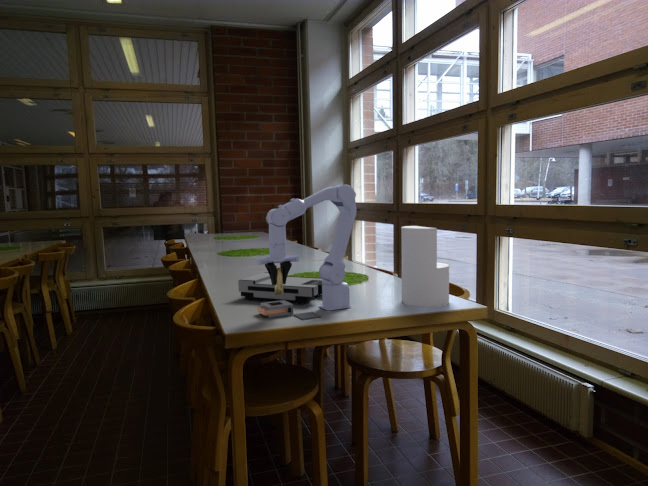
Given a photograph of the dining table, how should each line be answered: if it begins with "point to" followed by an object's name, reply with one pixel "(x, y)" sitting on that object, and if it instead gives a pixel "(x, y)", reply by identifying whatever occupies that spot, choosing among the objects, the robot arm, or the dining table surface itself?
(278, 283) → the brass peg
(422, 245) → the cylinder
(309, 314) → the rubber mat
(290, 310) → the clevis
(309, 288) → the game console
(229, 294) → the dining table surface
